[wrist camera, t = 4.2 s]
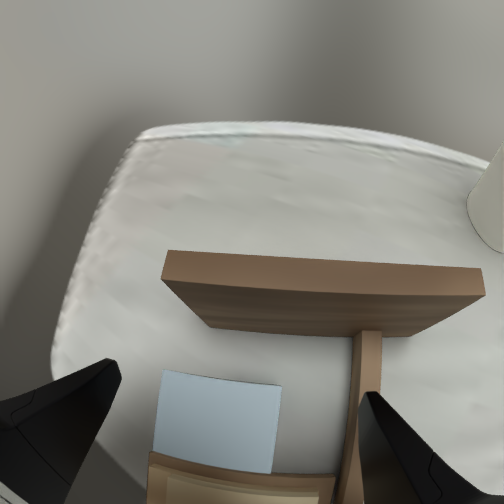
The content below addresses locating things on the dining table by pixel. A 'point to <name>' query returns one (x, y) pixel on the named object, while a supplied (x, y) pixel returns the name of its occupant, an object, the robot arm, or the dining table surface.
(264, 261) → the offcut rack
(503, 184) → the cylindrical container
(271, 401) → the slate slat
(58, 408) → the robot arm
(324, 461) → the dining table surface
